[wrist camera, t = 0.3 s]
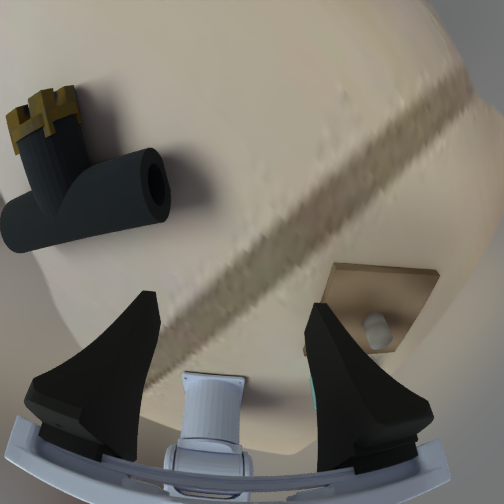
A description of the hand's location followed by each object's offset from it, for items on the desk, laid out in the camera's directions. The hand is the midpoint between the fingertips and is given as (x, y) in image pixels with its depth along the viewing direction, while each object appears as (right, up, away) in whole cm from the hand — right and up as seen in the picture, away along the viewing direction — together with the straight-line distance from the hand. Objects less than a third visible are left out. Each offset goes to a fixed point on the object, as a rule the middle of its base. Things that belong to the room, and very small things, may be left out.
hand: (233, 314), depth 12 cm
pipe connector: (-13, +10, +6) cm, 18 cm away
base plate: (+13, -4, +14) cm, 20 cm away
